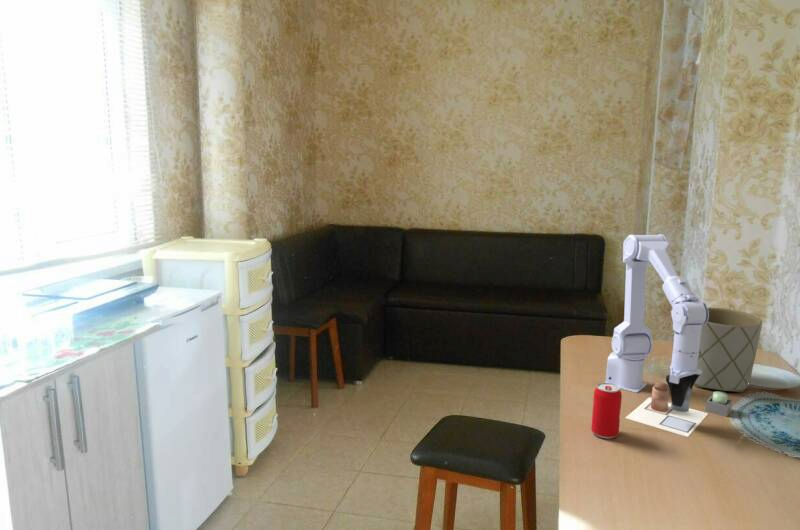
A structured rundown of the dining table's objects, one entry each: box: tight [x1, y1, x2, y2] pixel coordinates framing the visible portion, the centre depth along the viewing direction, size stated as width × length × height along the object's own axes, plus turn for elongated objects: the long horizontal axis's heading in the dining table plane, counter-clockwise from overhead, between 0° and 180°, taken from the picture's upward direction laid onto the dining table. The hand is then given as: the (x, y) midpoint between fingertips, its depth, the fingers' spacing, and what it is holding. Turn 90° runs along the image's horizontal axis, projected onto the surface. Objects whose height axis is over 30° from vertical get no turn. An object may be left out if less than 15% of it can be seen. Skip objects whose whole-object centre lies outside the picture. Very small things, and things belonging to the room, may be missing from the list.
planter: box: [693, 306, 763, 393], centre depth 179 cm, size 19×19×20 cm
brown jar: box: [651, 382, 670, 412], centre depth 162 cm, size 4×4×6 cm
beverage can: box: [590, 382, 623, 439], centre depth 147 cm, size 6×6×12 cm
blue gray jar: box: [670, 386, 692, 412], centre depth 152 cm, size 4×4×6 cm
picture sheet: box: [625, 397, 709, 438], centre depth 158 cm, size 15×17×1 cm
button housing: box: [704, 394, 734, 418], centre depth 161 cm, size 5×5×3 cm
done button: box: [712, 390, 729, 405], centre depth 161 cm, size 3×3×3 cm
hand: (680, 402), depth 153 cm, fingers closed on blue gray jar, 4 cm apart
